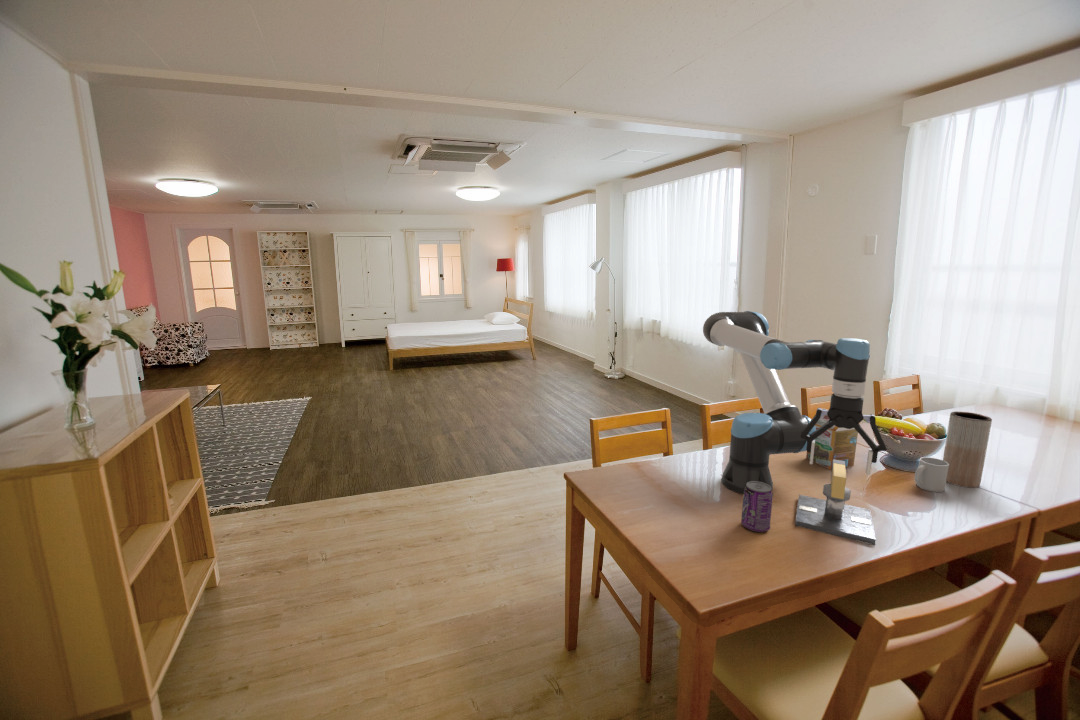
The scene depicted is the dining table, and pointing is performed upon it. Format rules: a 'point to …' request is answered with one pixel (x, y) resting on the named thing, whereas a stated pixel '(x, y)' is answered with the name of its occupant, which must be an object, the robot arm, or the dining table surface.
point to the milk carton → (834, 445)
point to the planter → (966, 448)
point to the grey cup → (931, 474)
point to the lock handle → (837, 483)
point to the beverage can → (757, 506)
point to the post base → (835, 518)
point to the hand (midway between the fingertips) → (838, 467)
